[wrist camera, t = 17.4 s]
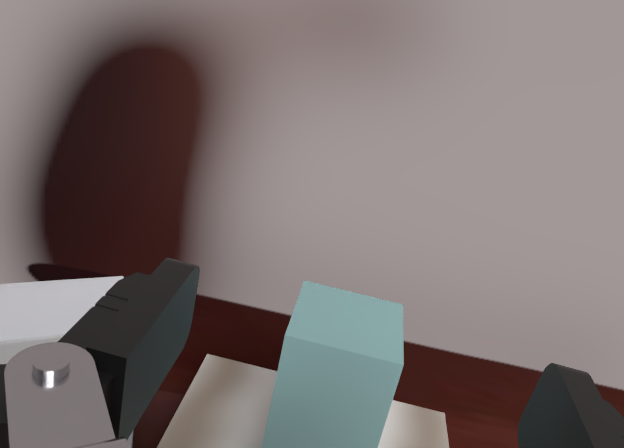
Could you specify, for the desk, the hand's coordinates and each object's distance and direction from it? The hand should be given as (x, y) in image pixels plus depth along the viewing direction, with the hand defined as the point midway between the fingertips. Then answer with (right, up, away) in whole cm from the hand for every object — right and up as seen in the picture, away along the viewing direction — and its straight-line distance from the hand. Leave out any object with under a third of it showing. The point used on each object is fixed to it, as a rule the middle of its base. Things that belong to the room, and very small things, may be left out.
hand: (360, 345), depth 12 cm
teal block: (-1, -11, +16) cm, 19 cm away
